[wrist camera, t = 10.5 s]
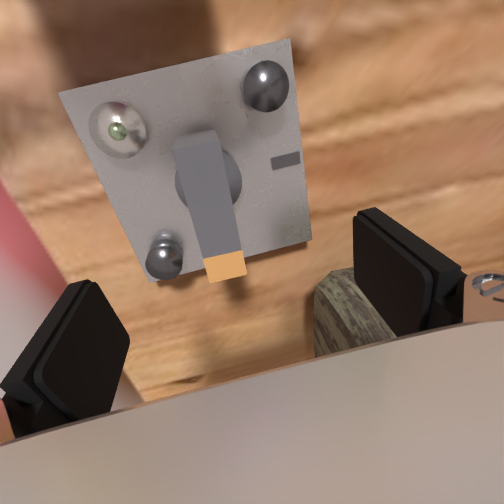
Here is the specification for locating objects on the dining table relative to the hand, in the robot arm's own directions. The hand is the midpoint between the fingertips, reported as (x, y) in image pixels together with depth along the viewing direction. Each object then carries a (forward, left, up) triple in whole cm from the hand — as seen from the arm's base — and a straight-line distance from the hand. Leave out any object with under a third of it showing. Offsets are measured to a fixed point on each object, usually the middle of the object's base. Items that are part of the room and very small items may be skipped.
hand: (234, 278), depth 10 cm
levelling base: (0, -1, -17) cm, 17 cm away
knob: (0, -1, -15) cm, 15 cm away
